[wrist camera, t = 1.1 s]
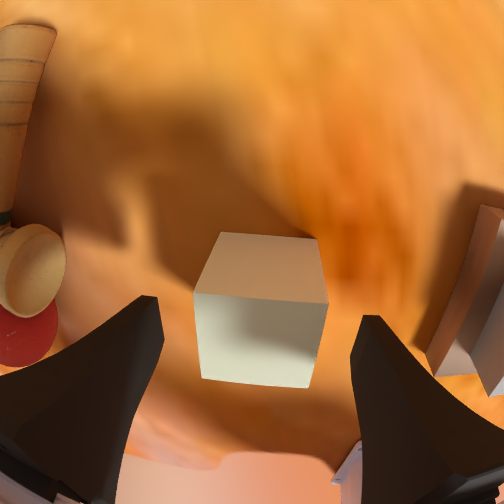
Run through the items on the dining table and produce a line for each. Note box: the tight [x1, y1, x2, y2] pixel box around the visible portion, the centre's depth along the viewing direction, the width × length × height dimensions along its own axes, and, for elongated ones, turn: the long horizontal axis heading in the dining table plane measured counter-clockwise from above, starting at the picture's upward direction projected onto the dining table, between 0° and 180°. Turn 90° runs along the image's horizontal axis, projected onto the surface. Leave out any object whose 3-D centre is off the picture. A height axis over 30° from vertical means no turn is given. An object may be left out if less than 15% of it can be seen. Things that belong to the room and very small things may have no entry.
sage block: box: [193, 232, 329, 388], centre depth 12 cm, size 4×4×4 cm
